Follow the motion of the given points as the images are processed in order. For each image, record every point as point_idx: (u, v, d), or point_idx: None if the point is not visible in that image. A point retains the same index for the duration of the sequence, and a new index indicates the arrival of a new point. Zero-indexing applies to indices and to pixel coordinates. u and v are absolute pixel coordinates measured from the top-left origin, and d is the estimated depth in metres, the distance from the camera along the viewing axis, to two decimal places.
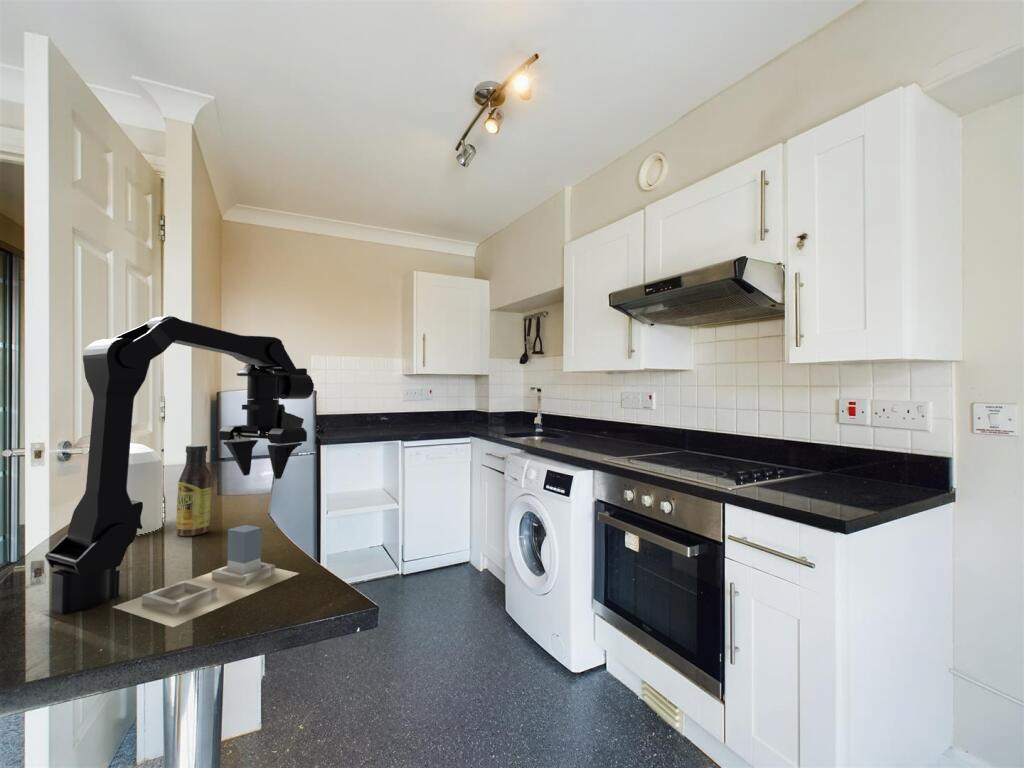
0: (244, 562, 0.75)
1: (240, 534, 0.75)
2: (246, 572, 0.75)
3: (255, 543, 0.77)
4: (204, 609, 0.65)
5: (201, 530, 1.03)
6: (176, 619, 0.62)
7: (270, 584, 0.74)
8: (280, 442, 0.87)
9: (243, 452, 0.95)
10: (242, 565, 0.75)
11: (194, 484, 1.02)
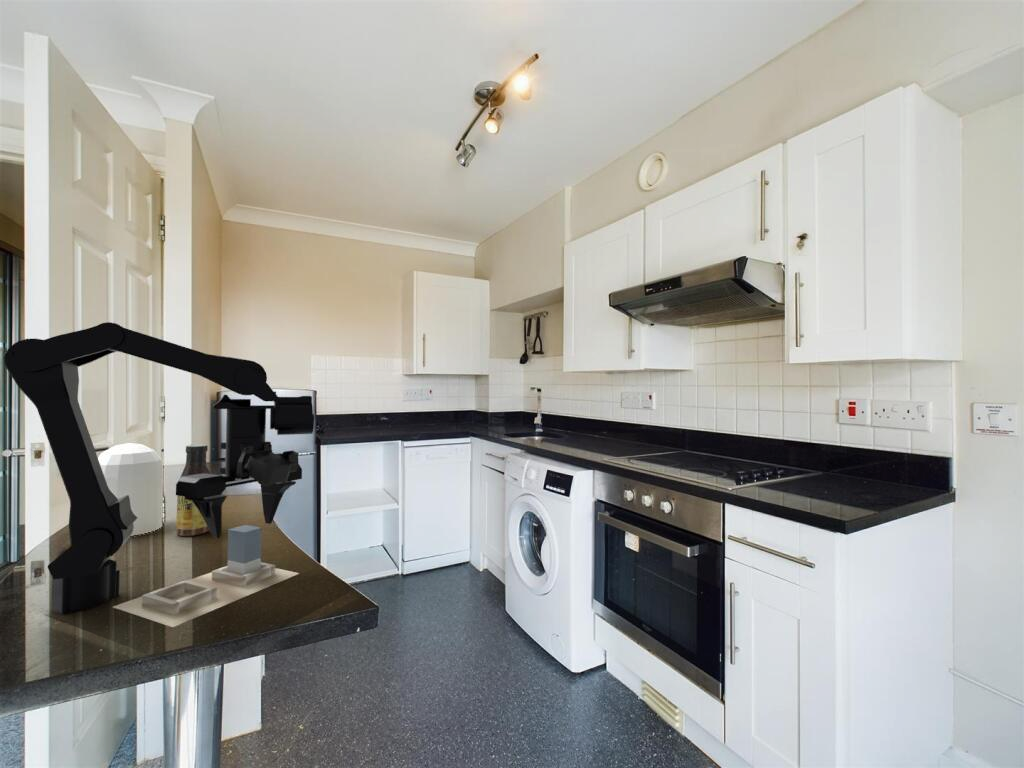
0: (244, 562, 0.75)
1: (240, 534, 0.75)
2: (246, 572, 0.75)
3: (255, 543, 0.77)
4: (204, 609, 0.65)
5: (201, 530, 1.03)
6: (176, 619, 0.62)
7: (270, 584, 0.74)
8: None
9: (267, 495, 0.82)
10: (242, 565, 0.75)
11: None
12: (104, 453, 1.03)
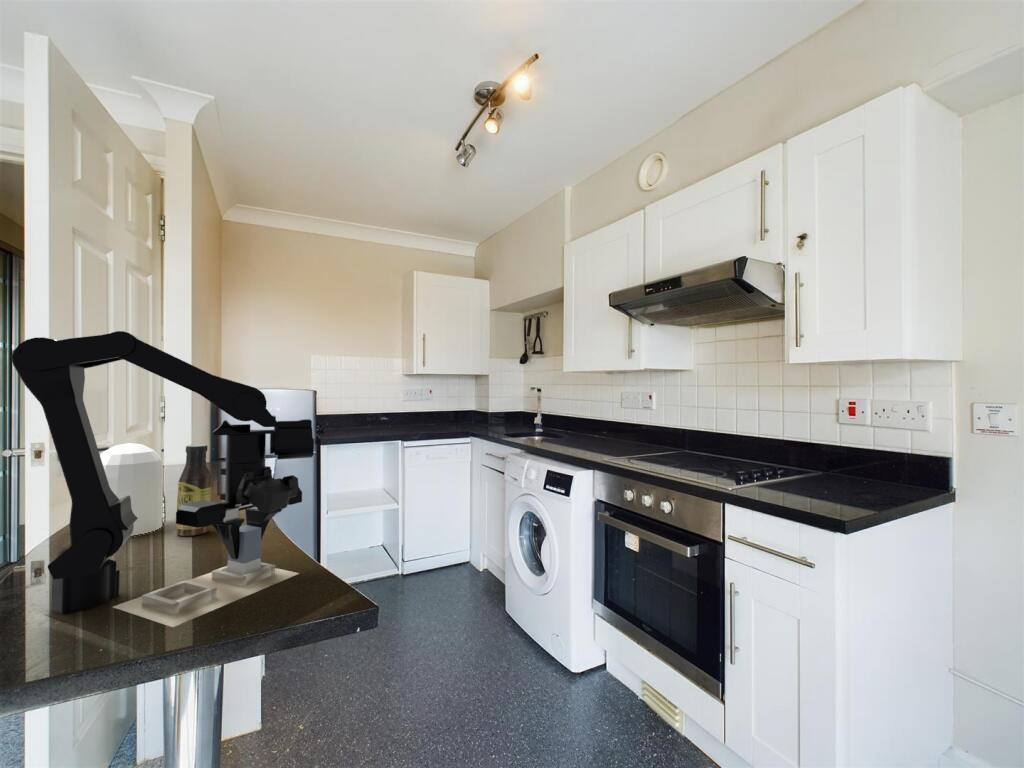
0: (244, 562, 0.75)
1: (240, 534, 0.75)
2: (246, 572, 0.75)
3: (255, 543, 0.77)
4: (204, 609, 0.65)
5: (201, 530, 1.03)
6: (176, 619, 0.62)
7: (270, 584, 0.74)
8: None
9: (252, 523, 0.79)
10: (242, 565, 0.75)
11: (194, 484, 1.02)
12: (104, 453, 1.03)
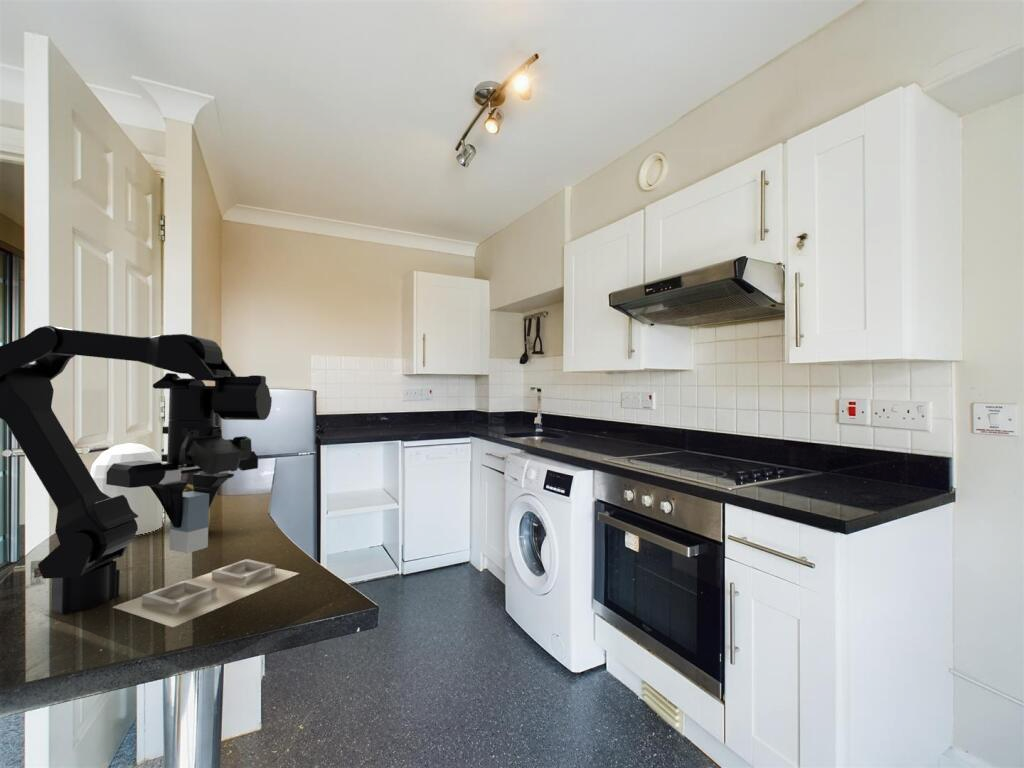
0: (188, 531, 0.67)
1: (184, 499, 0.67)
2: (190, 541, 0.67)
3: (201, 510, 0.69)
4: (204, 609, 0.65)
5: None
6: (176, 619, 0.62)
7: (270, 584, 0.74)
8: None
9: (200, 490, 0.71)
10: (186, 534, 0.67)
11: None
12: (104, 453, 1.03)
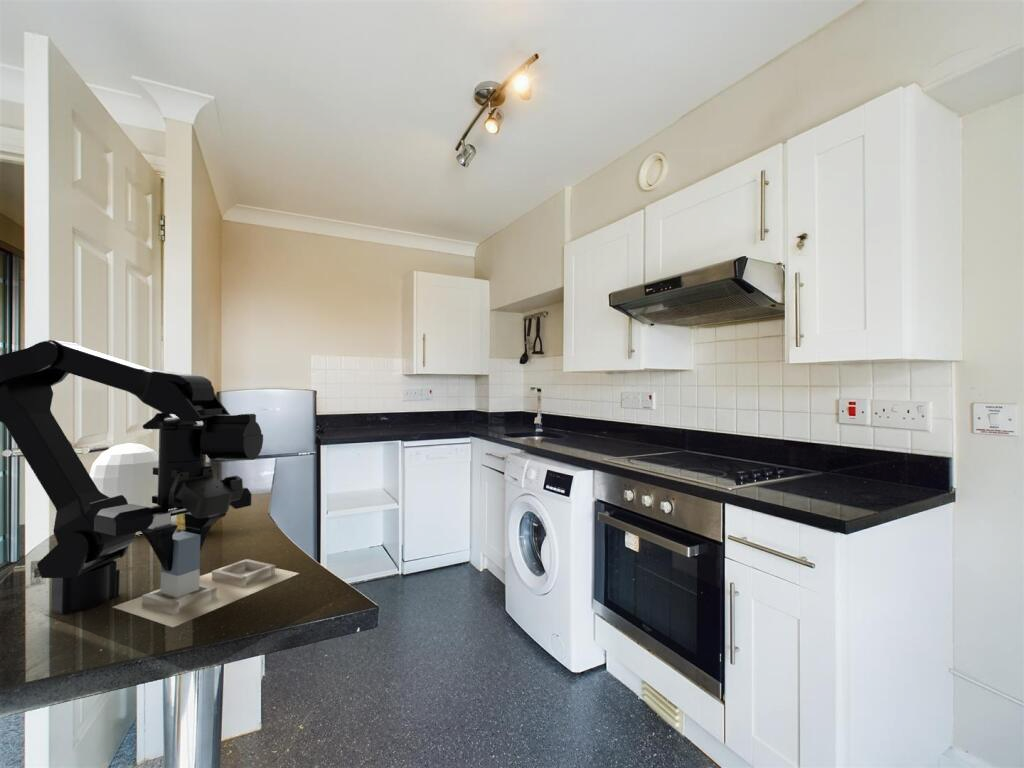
0: (178, 574, 0.66)
1: (174, 542, 0.66)
2: (180, 585, 0.66)
3: (192, 552, 0.67)
4: (204, 609, 0.65)
5: None
6: (176, 619, 0.62)
7: (270, 584, 0.74)
8: None
9: (192, 530, 0.70)
10: (176, 578, 0.66)
11: None
12: (104, 453, 1.03)
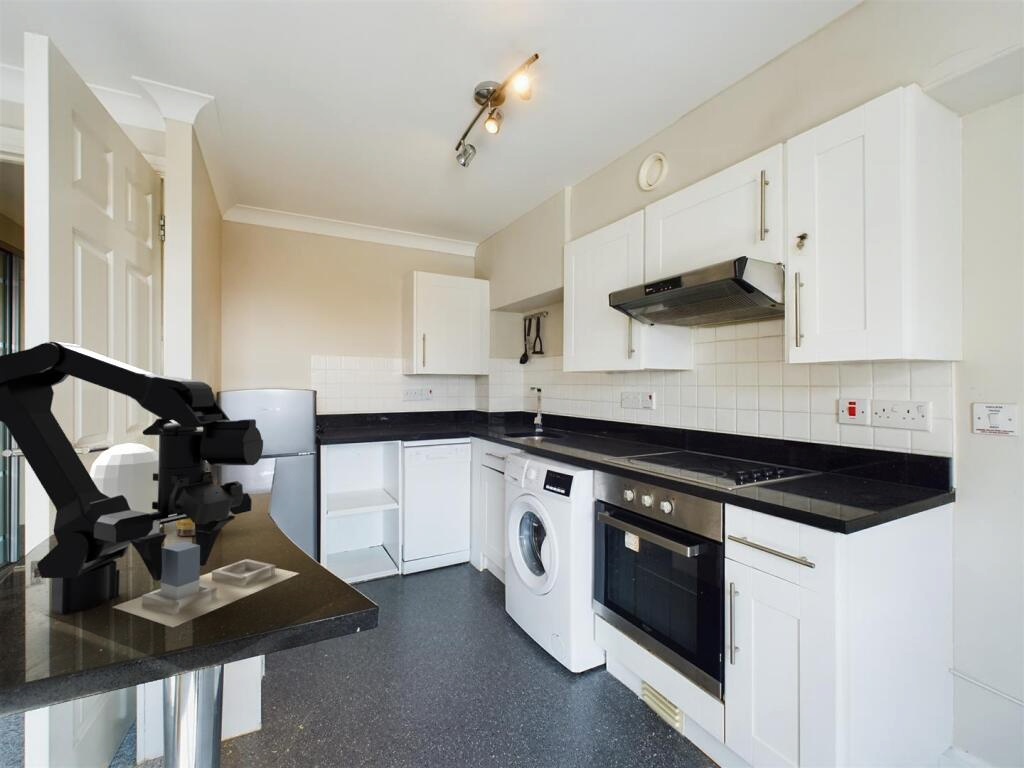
0: (178, 585, 0.66)
1: (174, 553, 0.66)
2: (180, 596, 0.66)
3: (192, 563, 0.67)
4: (204, 609, 0.65)
5: None
6: (176, 619, 0.62)
7: (270, 584, 0.74)
8: None
9: (201, 533, 0.71)
10: (176, 589, 0.66)
11: None
12: (104, 453, 1.03)
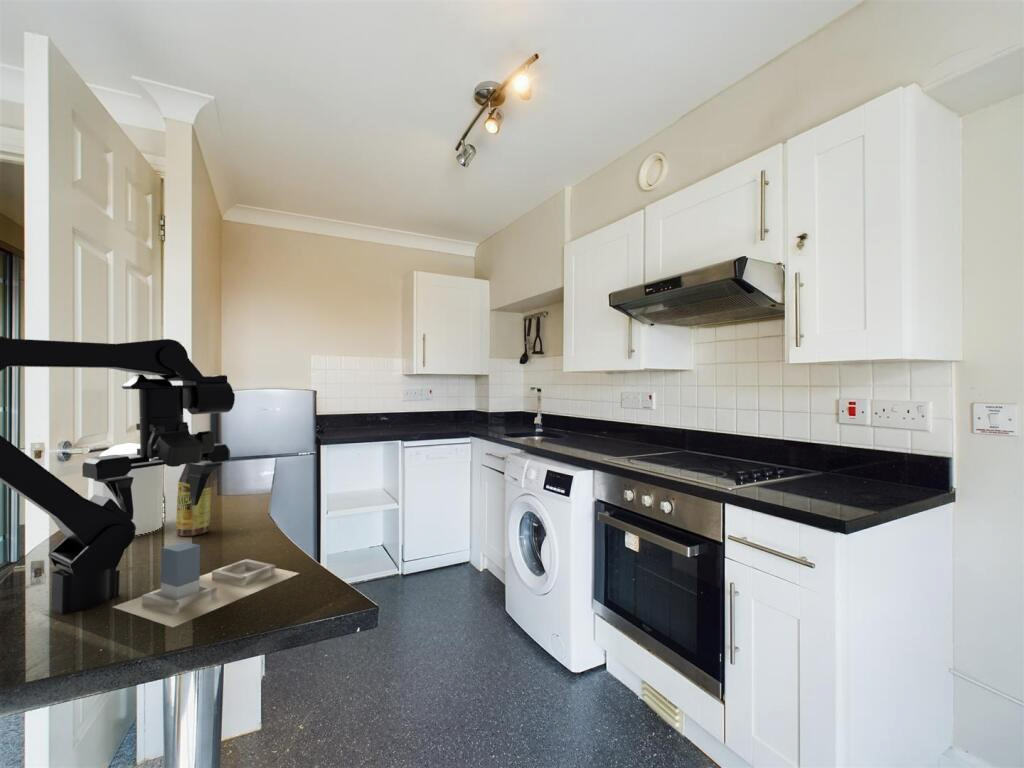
0: (178, 585, 0.66)
1: (174, 553, 0.66)
2: (180, 596, 0.66)
3: (192, 563, 0.67)
4: (204, 609, 0.65)
5: (201, 530, 1.03)
6: (176, 619, 0.62)
7: (270, 584, 0.74)
8: None
9: (193, 477, 0.80)
10: (176, 589, 0.66)
11: None
12: (104, 453, 1.03)
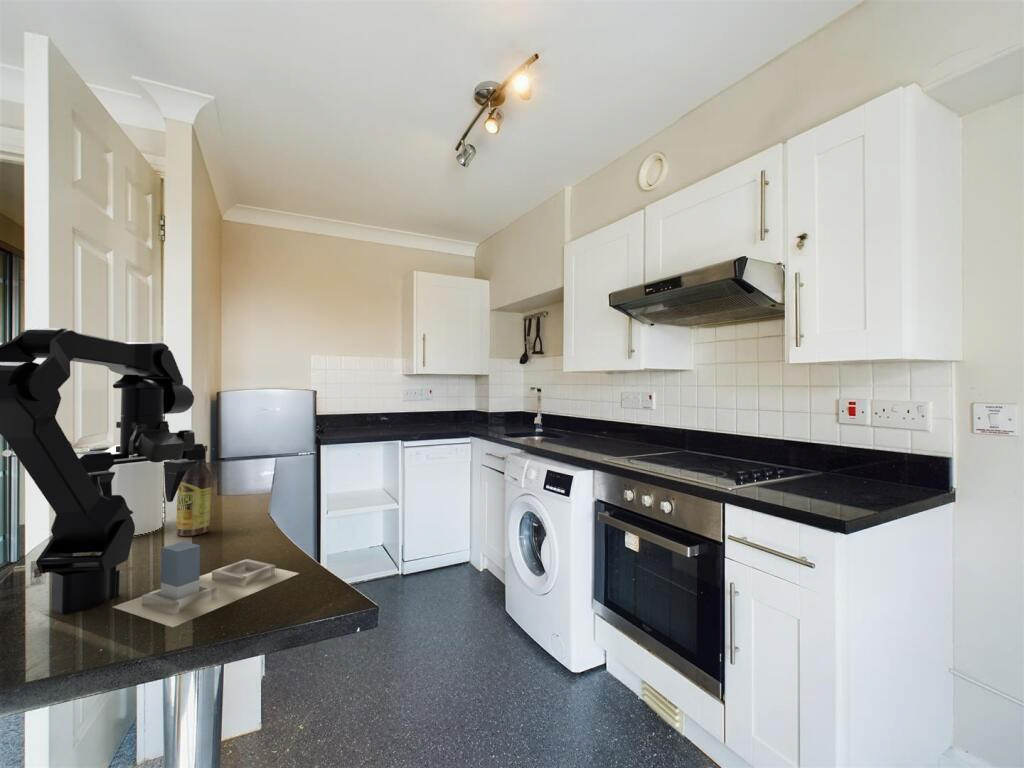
0: (178, 585, 0.66)
1: (174, 553, 0.66)
2: (180, 596, 0.66)
3: (192, 563, 0.67)
4: (204, 609, 0.65)
5: (201, 530, 1.03)
6: (176, 619, 0.62)
7: (270, 584, 0.74)
8: None
9: (169, 474, 0.84)
10: (176, 589, 0.66)
11: (194, 484, 1.02)
12: None
